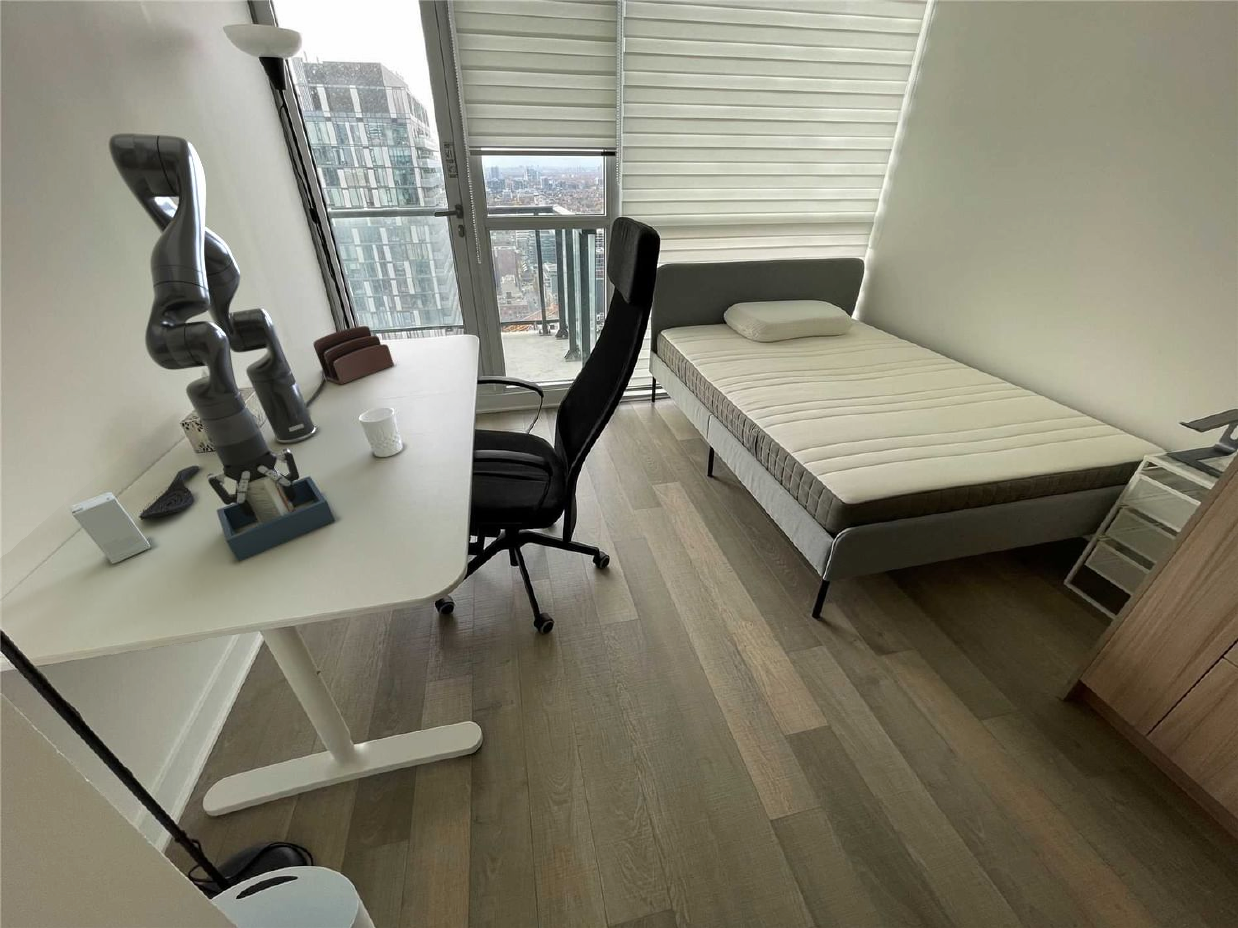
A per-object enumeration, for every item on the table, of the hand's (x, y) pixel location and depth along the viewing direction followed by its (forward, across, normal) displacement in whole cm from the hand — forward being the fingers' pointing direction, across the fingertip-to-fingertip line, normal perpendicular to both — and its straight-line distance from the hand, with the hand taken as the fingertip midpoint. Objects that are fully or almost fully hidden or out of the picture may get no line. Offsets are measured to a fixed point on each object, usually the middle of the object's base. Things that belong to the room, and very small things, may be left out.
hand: (272, 507), depth 101 cm
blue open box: (+4, 0, 0) cm, 4 cm away
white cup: (+5, -27, -15) cm, 31 cm away
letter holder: (+6, -40, -78) cm, 87 cm away
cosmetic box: (+5, +24, -12) cm, 27 cm away
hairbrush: (+5, +15, -30) cm, 34 cm away
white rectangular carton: (+3, 0, 0) cm, 3 cm away
